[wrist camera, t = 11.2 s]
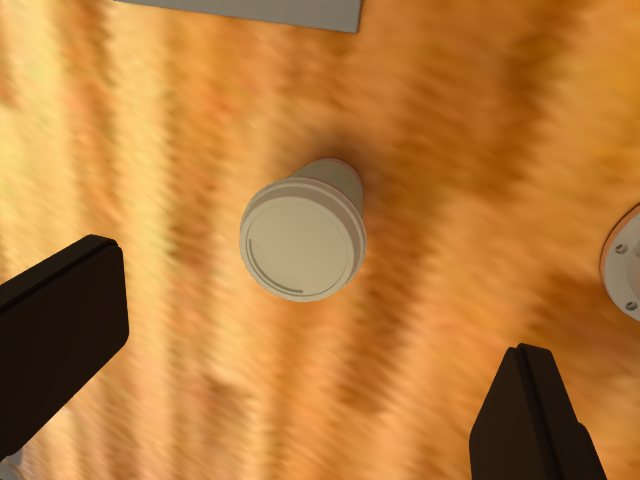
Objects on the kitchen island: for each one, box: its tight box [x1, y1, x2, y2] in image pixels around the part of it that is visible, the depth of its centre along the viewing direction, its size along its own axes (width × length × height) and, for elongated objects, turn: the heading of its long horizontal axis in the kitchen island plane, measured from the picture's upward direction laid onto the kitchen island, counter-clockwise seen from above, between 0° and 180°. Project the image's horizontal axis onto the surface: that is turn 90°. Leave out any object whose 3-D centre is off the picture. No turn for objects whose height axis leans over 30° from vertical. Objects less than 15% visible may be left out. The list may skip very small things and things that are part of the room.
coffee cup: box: [239, 158, 367, 302], centre depth 32 cm, size 8×9×12 cm
